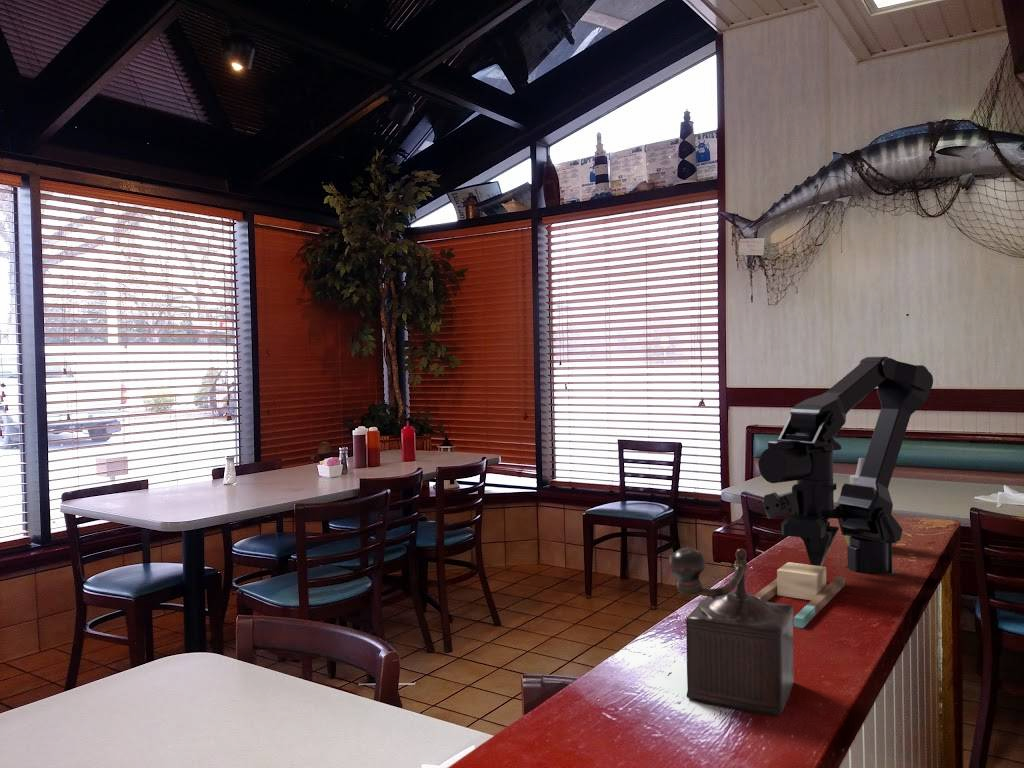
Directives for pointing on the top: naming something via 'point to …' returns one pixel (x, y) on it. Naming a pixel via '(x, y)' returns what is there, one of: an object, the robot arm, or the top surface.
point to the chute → (813, 605)
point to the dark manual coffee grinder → (735, 641)
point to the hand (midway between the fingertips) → (816, 569)
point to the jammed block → (800, 580)
